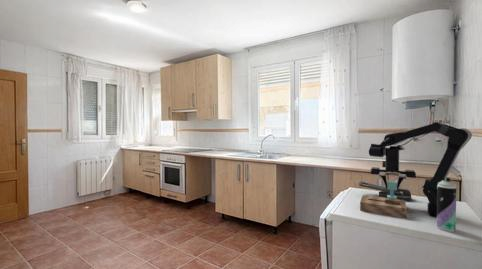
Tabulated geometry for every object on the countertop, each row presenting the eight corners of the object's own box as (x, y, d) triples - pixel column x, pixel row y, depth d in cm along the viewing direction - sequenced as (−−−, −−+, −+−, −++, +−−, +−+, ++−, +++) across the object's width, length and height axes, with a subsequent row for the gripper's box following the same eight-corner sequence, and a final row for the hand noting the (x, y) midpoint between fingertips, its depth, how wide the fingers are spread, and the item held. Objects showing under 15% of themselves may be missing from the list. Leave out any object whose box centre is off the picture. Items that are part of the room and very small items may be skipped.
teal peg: (396, 199, 118) (396, 181, 117) (396, 201, 114) (397, 183, 114) (387, 197, 120) (387, 180, 119) (387, 200, 116) (387, 182, 116)
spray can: (437, 229, 89) (438, 178, 88) (435, 224, 93) (436, 175, 92) (457, 233, 86) (458, 179, 85) (453, 227, 90) (454, 176, 89)
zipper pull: (359, 180, 139) (410, 185, 127) (359, 191, 140) (410, 197, 127) (358, 184, 132) (412, 189, 119) (358, 195, 132) (412, 202, 119)
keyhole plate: (404, 208, 111) (404, 200, 111) (406, 217, 100) (406, 208, 100) (362, 202, 120) (362, 194, 120) (360, 210, 109) (360, 202, 109)
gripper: (413, 157, 118) (413, 187, 119) (371, 155, 128) (371, 183, 128) (416, 160, 108) (415, 193, 109) (370, 158, 118) (370, 188, 119)
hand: (392, 189), depth 117 cm, fingers closed on teal peg, 4 cm apart
